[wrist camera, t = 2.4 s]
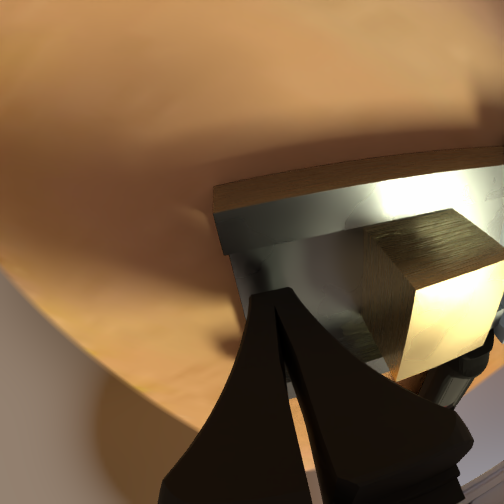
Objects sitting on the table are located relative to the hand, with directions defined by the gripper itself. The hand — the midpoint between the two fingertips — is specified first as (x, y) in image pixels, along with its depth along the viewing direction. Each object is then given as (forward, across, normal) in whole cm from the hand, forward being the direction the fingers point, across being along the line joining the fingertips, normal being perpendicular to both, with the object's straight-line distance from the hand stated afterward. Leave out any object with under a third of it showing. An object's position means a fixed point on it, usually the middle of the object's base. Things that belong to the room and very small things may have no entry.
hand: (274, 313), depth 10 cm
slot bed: (+1, -5, 0) cm, 5 cm away
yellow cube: (+1, -6, 0) cm, 6 cm away
